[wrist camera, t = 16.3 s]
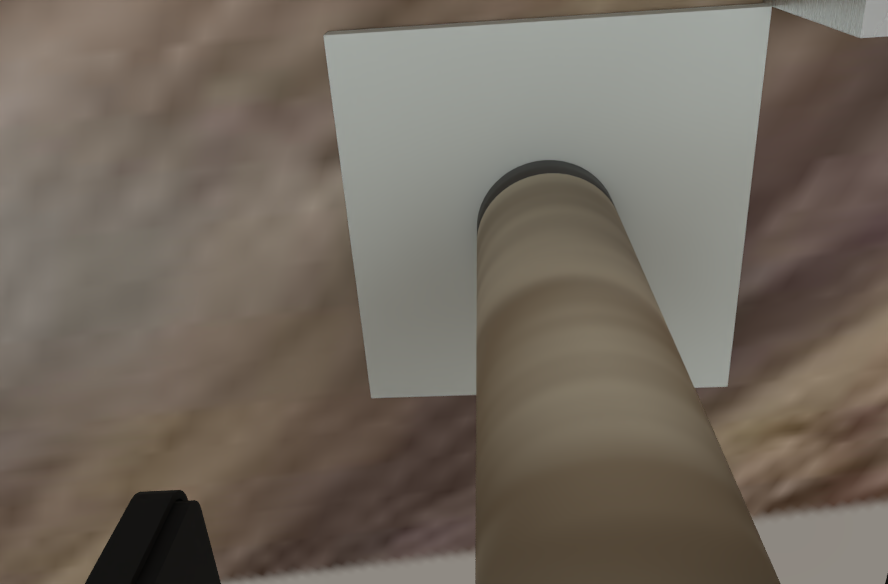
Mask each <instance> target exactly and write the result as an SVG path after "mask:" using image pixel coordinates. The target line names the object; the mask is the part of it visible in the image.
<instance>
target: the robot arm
mask: <svg viewBox="0 0 888 584" xmlns="http://www.w3.org/2000/svg"><path fill="white" fill-rule="evenodd" d="M85 584H221V583H220V579H219V575H218V571H217V567H216V563H215V560H214V556H213V552H212V548H211V544H210V541H209V537H208V533H207V529H206V525H205V521H204V518H203V514H202V510H201V507H200V504H199V503H198V502H197V501H195V500H193V501H188V499H187V497H186V494H185V493H184V492H183V491H181V490H169V491H149V492H139V493H137V494H135V495H134V497H133V498H132V499H131V501H130V503H129V505H128V506H127V508H126V510H125V512H124V514H123V515H122V517H121V519H120V521H119V523H118V525H117V526H116V528H115V530H114V532H113V534H112V535H111V537H110V539H109V541H108V543H107V544H106V546H105V548H104V550H103V552H102V554H101V555H100V557H99V559H98V561H97V563H96V564H95V566H94V568H93V570H92V572H91V574H90V575H89V577H88V579H87V581H86V583H85ZM885 584H888V575H887V579H886V583H885Z"/></svg>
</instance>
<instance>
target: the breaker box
mask: <svg viewBox="0 0 888 584" xmlns="http://www.w3.org/2000/svg"><path fill="white" fill-rule="evenodd" d="M763 3H764V4H766V5H769V6H772V7H775V8H778V9H780V10H783V11H786V12H789V13H792V14H794V15H797V16H800V17H803V18H806V19H808V20H811V21H814V22H817V23H820V24H822V25H825V26H828V27H831V28H833V29H836V30H839V31H842V32H845V33H847V34H850V35H853V36H856V37H859V38H868V37H884V36H888V0H763Z"/></svg>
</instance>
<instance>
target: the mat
mask: <svg viewBox="0 0 888 584" xmlns="http://www.w3.org/2000/svg"><path fill="white" fill-rule="evenodd" d="M771 10H772V6H769V5H766V4H764V3H759V4H744V5H728V6H713V7H697V8H682V9H667V10H651V11H636V12H620V13H605V14H589V15H574V16H559V17H543V18H528V19H512V20H497V21H481V22H466V23H451V24H435V25H420V26H404V27H389V28H373V29H358V30H343V31H328V32H327V33H326V34H324V35H323V36H324V44H325V51H326V59H327V66H328V74H329V82H330V89H331V97H332V104H333V112H334V119H335V127H336V135H337V142H338V150H339V157H340V165H341V173H342V180H343V188H344V195H345V203H346V211H347V218H348V226H349V233H350V241H351V248H352V256H353V264H354V271H355V279H356V286H357V294H358V302H359V309H360V317H361V324H362V332H363V339H364V347H365V355H366V362H367V370H368V377H369V385H370V393H371V398H394V397H425V396H455V395H476V328H477V219H478V213H479V210H480V207H481V204H482V202H483V200H484V197H485V196H486V194H487V193H488V191H489V190H490V188H491V187H492V186H493V185H494V184H495V183H496V182H497V181H498V180H499V179H500V178H501V177H502V176H504V175H505V174H506V173H508V172H509V171H511V170H513V169H515V168H517V167H519V166H521V165H524V164H527V163H531V162H535V161H542V160H558V161H565V162H568V163H572V164H575V165H577V166H580V167H582V168H584V169H585V170H587V171H589V172H590V173H591V174H593V175H594V176H595V177H596V178H597V179H598V180H599V181H600V182H601V183H602V184H603V185H604V187H605V188H606V189H607V191H608V193H609V195H610V197H611V199H612V201H613V203H614V206H615V208H616V210H617V212H618V215H619V217H620V219H621V222H622V224H623V226H624V228H625V231H626V233H627V235H628V237H629V240H630V242H631V244H632V247H633V249H634V251H635V253H636V256H637V258H638V260H639V263H640V265H641V267H642V269H643V272H644V274H645V276H646V278H647V281H648V283H649V285H650V288H651V290H652V292H653V294H654V297H655V299H656V301H657V304H658V306H659V308H660V310H661V313H662V315H663V317H664V320H665V322H666V324H667V326H668V329H669V331H670V333H671V335H672V338H673V340H674V342H675V345H676V347H677V349H678V351H679V354H680V356H681V358H682V361H683V363H684V365H685V367H686V370H687V372H688V374H689V376H690V379H691V381H692V383H693V386H694V388H700V387H727V386H728V377H729V369H730V360H731V351H732V343H733V334H734V326H735V317H736V309H737V300H738V292H739V283H740V275H741V266H742V258H743V249H744V240H745V232H746V223H747V215H748V206H749V198H750V189H751V181H752V172H753V164H754V155H755V146H756V138H757V129H758V121H759V112H760V104H761V95H762V87H763V78H764V70H765V61H766V53H767V44H768V35H769V27H770V18H771Z"/></svg>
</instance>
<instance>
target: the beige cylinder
mask: <svg viewBox="0 0 888 584" xmlns="http://www.w3.org/2000/svg"><path fill="white" fill-rule="evenodd" d="M475 583H476V584H780V582H779V579H778V577H777V575H776V573H775V570H774V568H773V566H772V564H771V561H770V559H769V557H768V554H767V552H766V550H765V547H764V546H763V543H762V541H761V539H760V536H759V534H758V531H757V529H756V527H755V525H754V522H753V520H752V518H751V516H750V513H749V511H748V509H747V506H746V504H745V502H744V500H743V497H742V495H741V493H740V490H739V488H738V486H737V484H736V481H735V479H734V477H733V475H732V472H731V470H730V468H729V465H728V463H727V461H726V459H725V456H724V454H723V452H722V449H721V447H720V445H719V443H718V440H717V438H716V436H715V433H714V431H713V429H712V427H711V424H710V422H709V420H708V418H707V415H706V413H705V411H704V408H703V406H702V404H701V402H700V399H699V397H698V395H697V392H696V390H695V388H694V386H693V383H692V381H691V379H690V376H689V374H688V372H687V370H686V367H685V365H684V363H683V361H682V358H681V356H680V354H679V351H678V349H677V347H676V345H675V342H674V340H673V338H672V335H671V333H670V331H669V329H668V326H667V324H666V322H665V320H664V317H663V315H662V313H661V310H660V308H659V306H658V304H657V301H656V299H655V297H654V294H653V292H652V290H651V288H650V285H649V283H648V281H647V278H646V276H645V274H644V272H643V269H642V267H641V265H640V263H639V260H638V258H637V256H636V253H635V251H634V249H633V247H632V244H631V242H630V240H629V237H628V235H627V233H626V231H625V228H624V226H623V224H622V222H621V219H620V217H619V215H618V212H617V210H616V208H615V206H614V203H613V201H612V199H611V197H610V195H609V193H608V191H607V189H606V188H605V187H604V185H603V184H602V183H601V182H600V181H599V180H598V179H597V178H596V177H595V176H594V175H593V174H591V173H590V172H589V171H587V170H585V169H584V168H582V167H580V166H577V165H575V164H572V163H568V162H565V161H558V160H542V161H535V162H531V163H527V164H524V165H521V166H519V167H517V168H515V169H513V170H511V171H509V172H508V173H506V174H505V175H504V176H502V177H501V178H500V179H499V180H498V181H497V182H496V183H495V184H494V185H493V186H492V187H491V188H490V190H489V191H488V193H487V194H486V196H485V197H484V200H483V202H482V204H481V207H480V210H479V213H478V219H477V328H476V580H475Z"/></svg>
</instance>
